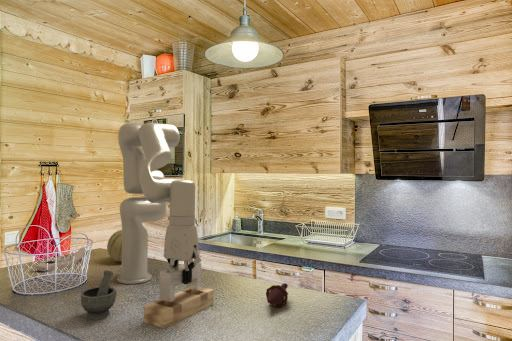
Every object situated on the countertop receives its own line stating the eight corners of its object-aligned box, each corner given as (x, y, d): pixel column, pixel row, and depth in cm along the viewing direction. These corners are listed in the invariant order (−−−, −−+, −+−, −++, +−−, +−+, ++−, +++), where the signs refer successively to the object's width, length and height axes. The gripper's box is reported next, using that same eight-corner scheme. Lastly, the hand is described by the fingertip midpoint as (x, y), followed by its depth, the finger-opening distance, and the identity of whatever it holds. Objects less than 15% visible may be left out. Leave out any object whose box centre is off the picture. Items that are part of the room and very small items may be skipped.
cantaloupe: (116, 257, 178) (116, 225, 178) (145, 258, 177) (146, 226, 177) (100, 265, 163) (100, 231, 163) (132, 266, 162) (132, 232, 162)
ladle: (92, 248, 171) (39, 259, 148) (91, 261, 171) (39, 274, 148) (83, 247, 173) (30, 258, 151) (82, 259, 173) (30, 272, 151)
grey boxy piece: (159, 299, 107) (159, 271, 107) (191, 286, 119) (191, 261, 119) (169, 302, 105) (170, 273, 105) (201, 288, 117) (201, 263, 117)
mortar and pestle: (103, 323, 103) (103, 280, 103) (72, 320, 105) (73, 278, 105) (124, 308, 114) (124, 269, 114) (96, 306, 116) (97, 267, 116)
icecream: (282, 295, 110) (297, 285, 123) (260, 285, 113) (277, 277, 126) (276, 317, 110) (291, 305, 124) (254, 307, 113) (272, 296, 127)
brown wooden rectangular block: (143, 322, 105) (143, 306, 104) (194, 298, 124) (194, 285, 124) (164, 328, 100) (164, 312, 100) (213, 303, 120) (213, 289, 119)
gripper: (152, 220, 113) (152, 280, 113) (195, 225, 104) (195, 290, 104) (170, 217, 119) (169, 274, 119) (212, 222, 111) (211, 283, 111)
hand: (181, 281), depth 112 cm, fingers closed on grey boxy piece, 4 cm apart
